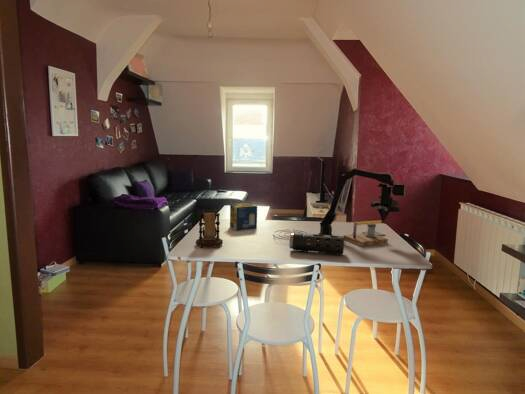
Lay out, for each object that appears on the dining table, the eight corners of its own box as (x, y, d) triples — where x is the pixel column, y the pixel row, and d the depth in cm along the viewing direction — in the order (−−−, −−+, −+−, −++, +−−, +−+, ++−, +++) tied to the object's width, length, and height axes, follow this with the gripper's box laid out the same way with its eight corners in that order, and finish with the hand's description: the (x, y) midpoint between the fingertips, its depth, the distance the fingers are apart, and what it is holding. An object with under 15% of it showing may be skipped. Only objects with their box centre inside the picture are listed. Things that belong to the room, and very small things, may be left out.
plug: (369, 242, 223) (371, 225, 222) (364, 239, 228) (365, 223, 226) (376, 241, 225) (377, 225, 224) (371, 239, 230) (372, 223, 228)
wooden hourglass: (197, 250, 200) (197, 213, 197) (194, 242, 214) (194, 207, 211) (224, 248, 204) (225, 212, 200) (220, 241, 218) (220, 207, 214)
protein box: (229, 227, 251) (229, 204, 249) (250, 225, 258) (250, 203, 256) (236, 230, 242) (236, 207, 240) (257, 228, 249) (257, 205, 247)
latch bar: (354, 238, 220) (355, 222, 219) (352, 237, 222) (353, 222, 220) (380, 235, 228) (381, 220, 226) (378, 234, 229) (379, 220, 228)
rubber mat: (372, 236, 236) (372, 235, 236) (362, 232, 245) (362, 232, 245) (384, 235, 240) (384, 234, 239) (374, 231, 249) (374, 230, 249)
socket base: (359, 246, 214) (360, 242, 213) (343, 239, 228) (343, 235, 228) (387, 243, 222) (387, 239, 221) (369, 236, 236) (370, 232, 236)
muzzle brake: (343, 258, 193) (344, 238, 191) (288, 253, 198) (289, 234, 197) (342, 252, 202) (344, 233, 200) (291, 248, 208) (291, 230, 206)
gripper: (408, 196, 213) (405, 223, 216) (385, 192, 230) (383, 217, 233) (392, 197, 209) (390, 225, 211) (370, 192, 226) (369, 218, 228)
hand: (383, 221), depth 221 cm, fingers closed
